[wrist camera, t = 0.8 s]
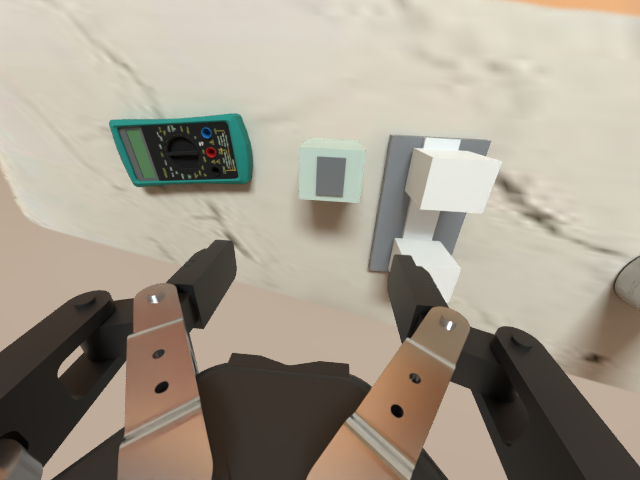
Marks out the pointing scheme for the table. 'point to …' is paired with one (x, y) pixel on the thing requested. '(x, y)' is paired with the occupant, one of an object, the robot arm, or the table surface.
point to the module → (331, 170)
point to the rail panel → (401, 199)
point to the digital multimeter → (184, 150)
